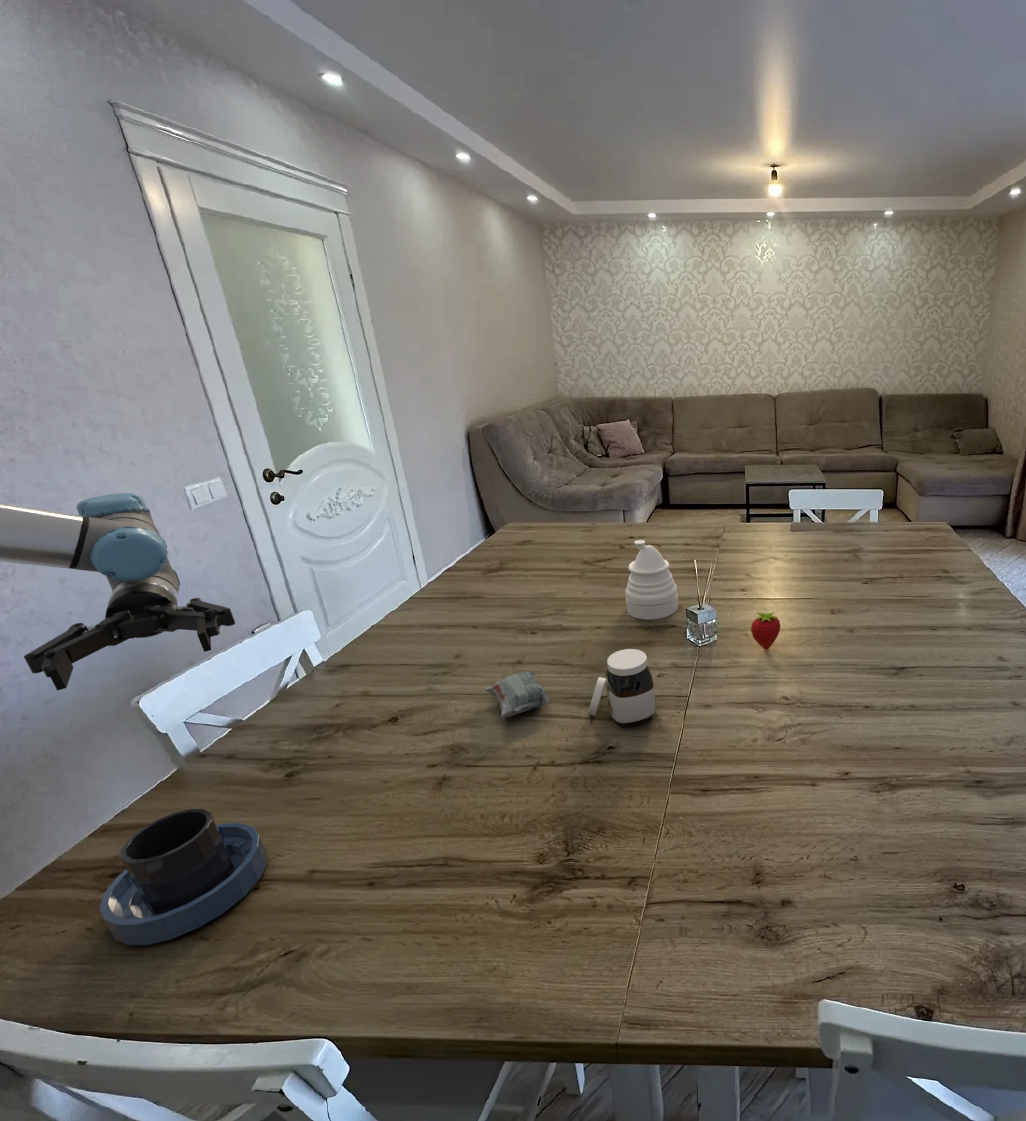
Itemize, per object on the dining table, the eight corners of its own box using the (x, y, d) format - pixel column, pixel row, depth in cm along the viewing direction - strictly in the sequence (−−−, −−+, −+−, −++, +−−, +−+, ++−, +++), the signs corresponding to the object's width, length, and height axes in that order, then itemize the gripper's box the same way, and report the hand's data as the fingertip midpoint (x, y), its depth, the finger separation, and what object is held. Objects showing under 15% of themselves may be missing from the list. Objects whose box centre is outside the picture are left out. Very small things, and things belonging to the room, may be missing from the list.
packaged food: (502, 729, 102) (498, 705, 101) (487, 697, 111) (482, 675, 110) (552, 711, 107) (549, 689, 105) (533, 682, 116) (529, 661, 114)
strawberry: (745, 653, 126) (744, 611, 122) (762, 638, 132) (762, 598, 128) (768, 660, 123) (768, 618, 119) (785, 645, 129) (786, 604, 125)
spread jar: (662, 722, 104) (657, 666, 99) (599, 742, 99) (591, 684, 95) (640, 689, 114) (635, 636, 109) (582, 705, 109) (574, 651, 104)
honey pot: (633, 623, 139) (627, 553, 133) (621, 602, 150) (615, 536, 144) (684, 613, 144) (681, 545, 137) (669, 593, 155) (665, 529, 148)
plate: (76, 949, 66) (61, 924, 65) (190, 845, 80) (179, 823, 78) (202, 948, 66) (190, 924, 65) (294, 844, 80) (286, 822, 78)
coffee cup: (131, 918, 69) (99, 862, 66) (191, 861, 76) (165, 808, 73) (198, 918, 69) (169, 862, 66) (251, 861, 76) (228, 808, 73)
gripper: (253, 605, 99) (265, 651, 84) (33, 656, 84) (0, 725, 69) (239, 564, 96) (248, 605, 82) (8, 609, 81) (-32, 670, 66)
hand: (134, 660), depth 75 cm, fingers open, 13 cm apart
